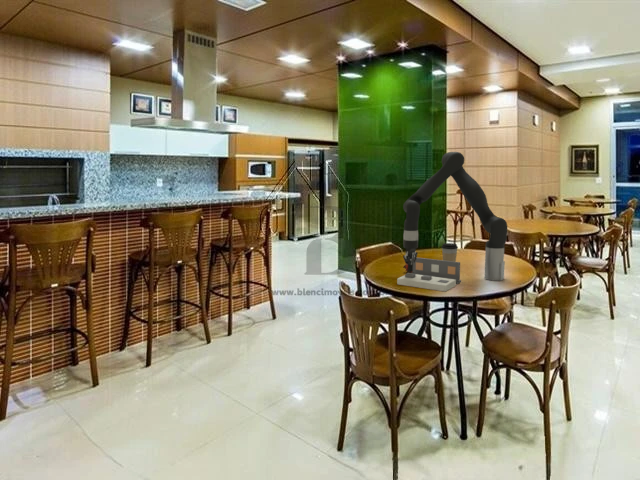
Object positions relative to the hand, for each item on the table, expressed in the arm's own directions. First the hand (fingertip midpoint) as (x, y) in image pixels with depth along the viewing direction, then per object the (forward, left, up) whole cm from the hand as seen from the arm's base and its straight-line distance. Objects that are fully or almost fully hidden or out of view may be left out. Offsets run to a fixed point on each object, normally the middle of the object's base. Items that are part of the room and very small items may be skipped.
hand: (410, 271), depth 235 cm
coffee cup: (-6, -40, -6) cm, 41 cm away
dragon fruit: (+8, -21, -6) cm, 23 cm away
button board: (-9, 0, -6) cm, 11 cm away
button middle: (-9, 0, -5) cm, 10 cm away
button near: (-18, 0, -6) cm, 19 cm away
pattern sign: (-9, -12, -6) cm, 16 cm away
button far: (0, 0, -5) cm, 5 cm away
